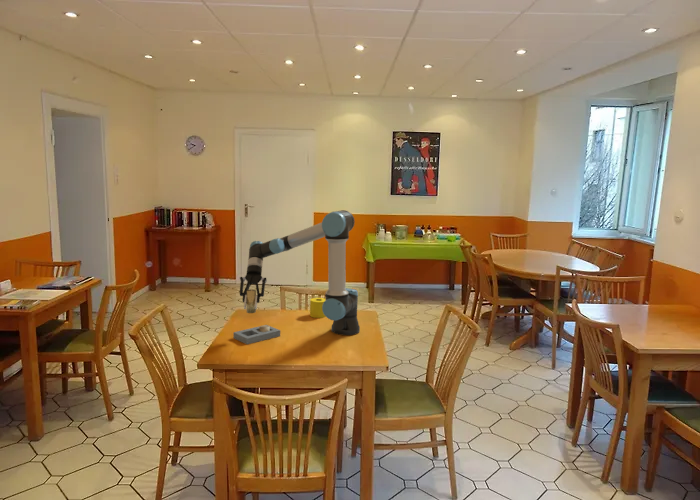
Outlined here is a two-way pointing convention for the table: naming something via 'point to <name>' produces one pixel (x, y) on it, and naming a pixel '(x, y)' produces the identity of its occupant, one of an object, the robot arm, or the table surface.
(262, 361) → the table surface
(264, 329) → the wooden plug
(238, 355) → the table surface
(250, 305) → the brass cylinder
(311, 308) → the tape roll
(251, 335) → the jig plate
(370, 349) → the table surface
